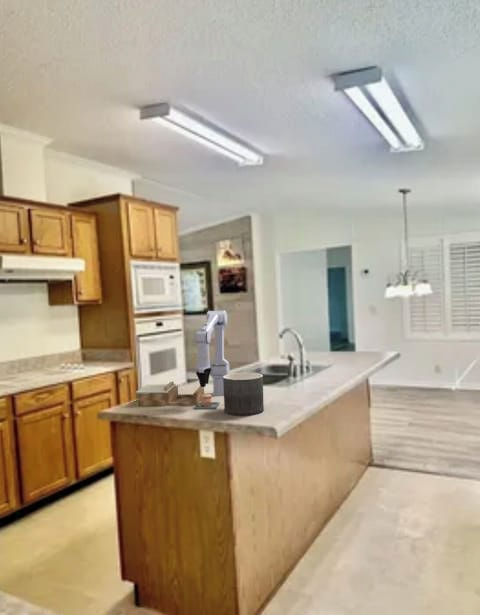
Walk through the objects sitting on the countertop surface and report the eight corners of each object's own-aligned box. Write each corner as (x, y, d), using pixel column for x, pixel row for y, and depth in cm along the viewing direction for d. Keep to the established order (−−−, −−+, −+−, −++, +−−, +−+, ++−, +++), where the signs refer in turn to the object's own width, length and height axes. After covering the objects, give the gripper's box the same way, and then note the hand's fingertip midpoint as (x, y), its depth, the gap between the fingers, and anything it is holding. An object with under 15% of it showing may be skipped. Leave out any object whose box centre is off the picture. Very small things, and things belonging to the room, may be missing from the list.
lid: (175, 385, 252) (175, 380, 252) (166, 393, 233) (166, 388, 233) (147, 385, 253) (146, 381, 253) (135, 393, 235) (135, 388, 235)
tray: (219, 404, 233) (219, 402, 233) (216, 409, 223) (216, 407, 223) (198, 404, 234) (198, 402, 234) (194, 409, 224) (194, 407, 224)
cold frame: (204, 397, 250) (203, 385, 250) (197, 405, 232) (196, 393, 232) (149, 397, 253) (149, 386, 253) (138, 406, 235) (138, 393, 235)
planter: (250, 417, 207) (249, 380, 207) (216, 413, 217) (215, 378, 216) (270, 408, 222) (269, 374, 222) (237, 404, 232) (236, 371, 231)
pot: (213, 404, 231) (213, 394, 231) (210, 407, 225) (209, 396, 225) (202, 404, 232) (202, 393, 232) (199, 407, 227) (198, 396, 226)
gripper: (197, 354, 238) (199, 382, 239) (192, 359, 224) (193, 388, 224) (212, 354, 238) (213, 382, 238) (207, 358, 223) (208, 388, 224)
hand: (204, 385), depth 231 cm, fingers open, 7 cm apart
